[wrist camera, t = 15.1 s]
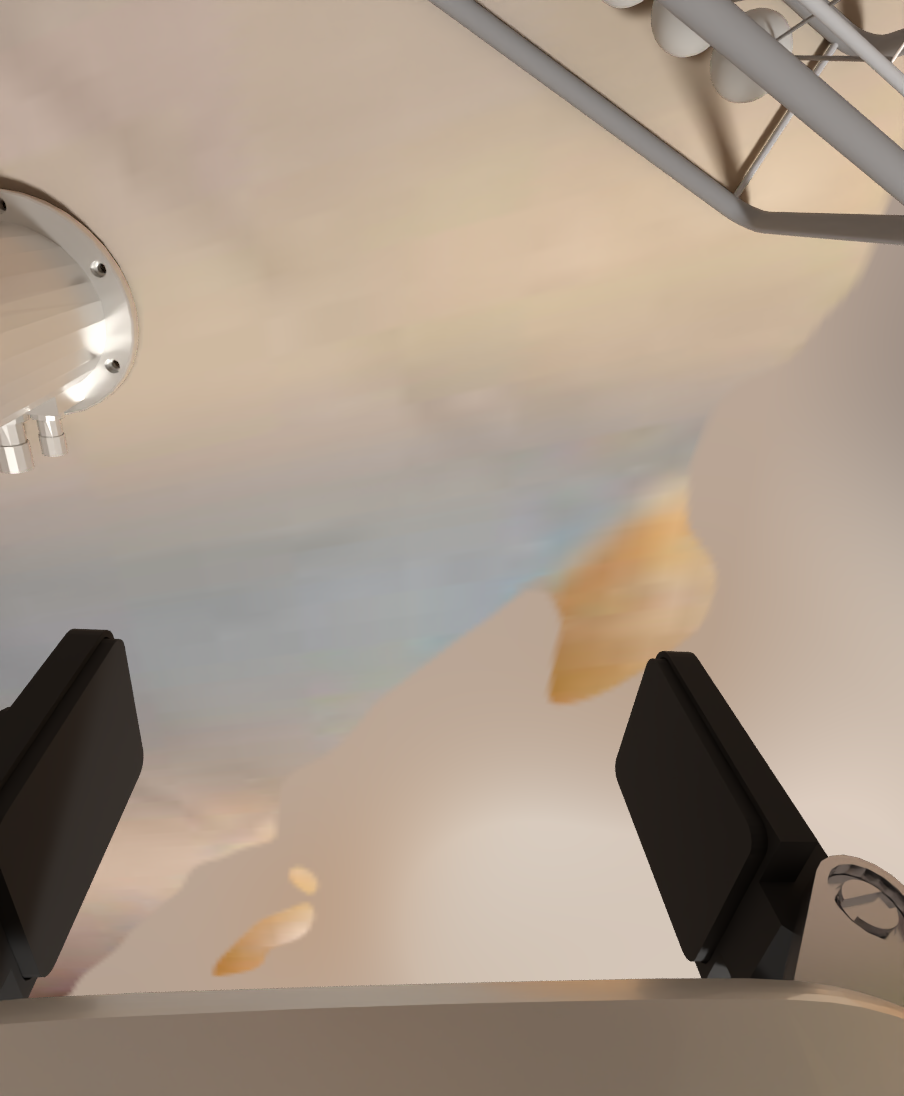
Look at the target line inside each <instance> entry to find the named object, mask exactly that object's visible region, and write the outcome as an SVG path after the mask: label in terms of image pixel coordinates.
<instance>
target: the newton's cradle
mask: <svg viewBox="0 0 904 1096" xmlns="http://www.w3.org/2000/svg"><path fill="white" fill-rule="evenodd" d="M429 1H430V2H431V3H433V4H434V5H436V6H437V7H438V8H440V9H441V10H442V11H444V12H445V13H446V14H448V15H449V16H451V17H452V18H453V19H455V20H456V21H457V22H459V23H460V24H462V25H463V26H464V27H466V28H467V29H468V30H470V31H471V32H473V33H474V34H475V35H477V36H478V37H479V38H481V39H482V40H484V41H485V42H486V43H488V44H489V45H490V46H492V47H493V48H495V49H496V50H497V51H499V52H500V53H501V54H503V55H504V56H506V57H507V58H508V59H510V60H511V61H512V62H514V63H515V64H517V65H518V66H519V67H521V68H522V69H523V70H525V71H526V72H528V73H529V74H530V75H532V76H533V77H534V78H536V79H537V80H538V81H540V82H541V83H543V84H544V85H545V86H547V87H548V88H549V89H551V90H552V91H554V92H555V93H556V94H558V95H559V96H560V97H562V98H563V99H565V100H566V101H567V102H569V103H570V104H571V105H573V106H574V107H576V108H577V109H578V110H580V111H581V112H582V113H584V114H585V115H587V116H588V117H589V118H591V119H592V120H593V121H595V122H596V123H598V124H599V125H600V126H602V127H603V128H604V129H606V130H607V131H609V132H610V133H611V134H613V135H614V136H615V137H617V138H618V139H619V140H621V141H622V142H624V143H625V144H626V145H628V146H629V147H630V148H632V149H633V150H635V151H636V152H637V153H639V154H640V155H641V156H643V157H644V158H646V159H647V160H648V161H650V162H651V163H652V164H654V165H655V166H657V167H658V168H659V169H661V170H662V171H663V172H665V173H666V174H668V175H669V176H670V177H672V178H673V179H674V180H676V181H677V182H679V183H680V184H681V185H683V186H684V187H685V188H687V189H688V190H690V191H691V192H692V193H694V194H695V195H696V196H698V197H699V198H701V199H702V200H703V201H705V202H706V203H707V204H709V205H710V206H711V207H713V208H714V209H716V210H717V211H718V212H720V213H721V214H722V215H724V216H725V217H727V218H728V219H730V220H732V221H733V222H735V223H737V224H739V225H741V226H743V227H745V228H747V229H750V230H752V231H755V232H759V233H765V234H777V235H789V236H800V237H812V238H823V239H835V240H847V241H858V242H870V243H881V244H894V245H904V215H903V216H902V215H868V214H831V213H794V212H768V211H763V210H760V209H758V208H755V207H753V206H751V205H749V204H747V203H746V202H744V201H742V200H741V199H739V197H740V195H741V194H742V192H743V191H744V189H745V188H746V186H747V185H748V183H749V181H750V180H751V178H752V177H753V175H754V174H755V172H756V171H757V169H758V168H759V166H760V165H761V163H762V162H763V160H764V159H765V157H766V156H767V154H768V153H769V151H770V149H771V148H772V146H773V145H774V143H775V142H776V140H777V139H778V137H779V136H780V134H781V133H782V131H783V130H784V128H785V127H786V125H787V124H788V122H789V121H790V119H791V118H792V116H793V114H794V115H795V116H796V117H797V118H799V119H800V120H801V121H802V122H804V123H805V124H806V125H807V126H808V127H810V128H811V129H812V130H813V131H814V132H816V133H817V134H818V135H819V136H820V137H822V138H823V139H824V140H825V141H826V142H828V143H829V144H830V145H831V146H833V147H834V148H835V149H836V150H837V151H839V152H840V153H841V154H842V155H843V156H845V157H846V158H847V159H848V160H849V161H851V162H852V163H853V164H854V165H855V166H857V167H858V168H859V169H860V170H862V171H863V172H864V173H865V174H866V175H868V176H869V177H870V178H871V179H872V180H874V181H875V182H876V183H877V184H878V185H880V186H881V187H882V188H883V189H884V190H886V191H887V192H888V193H889V194H891V195H892V196H893V197H894V198H895V199H897V200H898V201H899V202H900V203H901V204H903V205H904V150H903V149H902V148H901V147H900V146H898V145H897V144H896V143H895V142H894V141H893V140H891V139H890V138H889V137H888V136H887V135H886V134H885V133H883V132H882V131H881V130H880V129H879V128H878V127H876V126H875V125H874V124H873V123H872V122H871V121H870V120H868V119H867V118H866V117H865V116H864V115H863V114H861V113H860V112H859V111H858V110H857V109H856V108H855V107H853V106H852V105H851V104H850V103H849V102H848V101H846V100H845V99H844V98H843V97H842V96H841V95H840V94H838V93H837V92H836V91H835V90H834V89H833V88H831V87H830V86H829V85H828V84H827V83H826V82H825V81H823V80H822V79H821V78H820V77H819V75H820V73H821V72H822V70H823V69H824V67H825V66H826V64H827V63H828V61H860V62H866V63H867V64H868V65H869V66H870V67H871V68H872V69H874V70H875V71H876V72H877V73H878V74H879V75H880V76H881V77H882V78H884V79H885V80H886V81H887V82H888V83H889V84H890V85H891V86H892V87H894V88H895V89H896V90H897V91H898V92H899V93H900V94H901V95H902V96H903V97H904V74H903V73H902V72H901V71H900V70H899V69H898V68H896V67H895V66H894V65H893V64H892V63H893V62H894V60H895V59H896V57H899V56H902V55H904V29H901V30H898V31H895V32H892V33H889V34H885V35H877V34H873V33H869V32H866V31H864V30H862V29H860V28H858V27H857V26H856V25H854V24H853V23H852V22H851V21H850V20H849V19H847V18H846V17H845V16H844V15H843V14H842V13H841V12H840V11H839V10H838V9H837V8H836V7H834V6H833V5H834V4H836V3H837V2H839V1H841V0H833V1H832V2H829V1H828V0H783V1H784V2H785V3H786V4H787V5H788V6H790V7H791V8H792V9H793V10H794V11H795V12H796V13H797V14H799V15H800V16H801V17H802V18H803V19H804V20H803V21H802V22H800V23H799V24H797V25H796V26H794V27H793V28H791V29H790V26H789V24H788V22H787V20H786V19H785V18H784V17H783V16H782V15H781V14H780V13H778V12H777V11H774V10H771V9H768V8H757V9H753V10H749V11H747V12H744V11H743V10H741V9H740V8H739V7H738V6H737V5H736V4H734V2H737V1H743V0H654V1H653V5H652V12H651V25H652V31H653V34H654V37H655V40H656V41H657V43H658V44H659V46H660V47H661V48H662V49H663V50H664V51H665V52H667V53H669V54H670V55H672V56H676V57H689V56H694V55H697V54H699V53H701V52H703V51H704V50H706V49H707V48H708V47H710V46H712V47H713V48H714V49H713V52H712V55H711V60H710V75H711V80H712V83H713V86H714V88H715V89H716V91H717V92H718V93H719V95H720V96H721V97H723V98H724V99H726V100H728V101H730V102H734V103H747V102H752V101H754V100H756V99H759V98H761V97H763V96H764V95H765V94H767V93H768V94H770V95H771V96H772V97H773V98H775V99H776V100H777V101H778V102H779V103H781V104H782V105H783V106H784V107H785V108H787V109H788V111H787V113H786V114H785V116H784V117H783V119H782V120H781V122H780V123H779V125H778V126H777V128H776V129H775V131H774V132H773V134H772V136H771V137H770V139H769V140H768V142H767V143H766V145H765V146H764V148H763V149H762V151H761V152H760V154H759V155H758V157H757V159H756V160H755V162H754V163H753V165H752V166H751V168H750V169H749V171H748V172H747V174H746V175H745V177H744V178H743V180H742V182H741V183H740V185H739V186H738V188H737V189H736V191H735V192H734V194H732V193H731V192H730V191H728V190H727V189H726V188H724V187H723V186H722V185H720V184H719V183H718V182H716V181H715V180H714V179H712V178H711V177H710V176H708V175H707V174H706V173H704V172H703V171H702V170H700V169H699V168H698V167H696V166H695V165H694V164H692V163H691V162H690V161H688V160H687V159H686V158H684V157H683V156H682V155H680V154H679V153H677V152H676V151H675V150H673V149H672V148H671V147H669V146H668V145H667V144H665V143H664V142H663V141H661V140H660V139H659V138H657V137H656V136H655V135H653V134H652V133H651V132H649V131H648V130H647V129H645V128H644V127H643V126H641V125H640V124H639V123H637V122H636V121H635V120H633V119H632V118H631V117H629V116H628V115H627V114H625V113H624V112H623V111H621V110H620V109H619V108H617V107H616V106H614V105H613V104H612V103H610V102H609V101H608V100H606V99H605V98H604V97H602V96H601V95H600V94H598V93H597V92H596V91H594V90H593V89H592V88H590V87H589V86H588V85H586V84H585V83H584V82H582V81H581V80H580V79H578V78H577V77H576V76H574V75H573V74H572V73H570V72H569V71H568V70H566V69H565V68H564V67H562V66H561V65H560V64H558V63H557V62H556V61H554V60H553V59H551V58H550V57H549V56H547V55H546V54H545V53H543V52H542V51H541V50H539V49H538V48H537V47H535V46H534V45H533V44H531V43H530V42H529V41H527V40H526V39H525V38H523V37H522V36H521V35H519V34H518V33H517V32H515V31H514V30H513V29H511V28H510V27H509V26H507V25H506V24H505V23H503V22H502V21H501V20H499V19H498V18H497V17H495V16H494V15H493V14H491V13H490V12H488V11H487V10H486V9H484V8H483V7H482V6H480V5H479V4H478V3H476V2H475V1H474V0H429ZM602 1H603V2H604V3H606V4H608V5H609V6H612V7H615V8H628V7H632V6H634V5H636V4H638V3H640V2H642V1H643V0H602ZM805 23H809V24H810V25H811V26H812V27H813V28H814V29H815V30H816V31H817V32H819V33H820V34H821V35H822V36H823V37H824V38H825V39H826V40H828V41H829V42H830V43H831V45H830V47H829V48H828V50H827V51H826V53H825V54H824V56H799V55H793V54H792V49H793V38H792V32H793V31H795V30H796V29H798V28H799V27H801V26H802V25H804V24H805ZM836 49H839V50H840V51H841V52H843V53H845V54H847V55H849V56H832V55H833V54H834V52H835V51H836ZM800 60H816V61H820V62H819V63H818V65H817V66H816V68H815V70H814V71H812V70H811V69H810V68H808V67H807V66H806V65H805V64H804V63H803V62H801V61H800Z"/></svg>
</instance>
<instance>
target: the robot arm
mask: <svg viewBox="0 0 904 1096" xmlns="http://www.w3.org/2000/svg"><path fill="white" fill-rule="evenodd" d="M3 201H4V202H5V204H6V209H5V208H4V207H3V205H2V202H3ZM101 264H103V265H104V266H105V268H106V273H105V272H103V271H102V270H101V268H100V266H101ZM138 337H139V326H138V318H137V310H136V306H135V303H134V300H133V297H132V293H131V290H130V287H129V285H128V283H127V281H126V279H125V277H124V275H123V273H122V271H121V269H120V267H119V266H118V264H117V263H116V262H115V260H114V259H113V257H112V256H111V255H110V253H109V252H108V250H107V249H106V248H105V246H104V245H103V244H102V243H101V242H100V241H99V240H98V239H97V238H96V237H95V236H94V235H93V234H92V233H91V232H90V231H89V230H88V229H87V228H86V227H85V226H83V225H82V224H81V223H80V222H78V221H77V220H76V219H74V218H73V217H72V216H70V215H69V214H68V213H66V212H65V211H63V210H61V209H59V208H57V207H56V206H54V205H52V204H50V203H48V202H47V201H45V200H42V199H39V198H36V197H34V196H31V195H28V194H25V193H22V192H18V191H12V190H6V189H0V472H2V473H8V474H15V473H23V472H27V471H30V470H32V469H33V468H34V461H33V457H32V452H31V448H30V443H29V440H28V439H27V438H26V433H25V429H24V424H23V422H25V421H27V420H28V419H29V415H30V417H31V418H32V419H33V420H37V425H38V429H39V440H40V444H41V449H42V454H43V455H44V456H49V457H58V456H63V455H65V454H67V453H68V449H67V444H66V439H65V434H64V432H63V430H62V425H61V420H60V419H62V418H64V417H65V415H68V414H72V413H76V412H80V411H83V410H86V409H88V408H90V407H92V406H94V405H96V404H98V403H100V402H102V401H103V400H104V399H106V398H107V397H109V396H110V395H111V394H113V393H114V392H115V390H116V389H117V388H118V387H119V386H120V385H121V384H122V383H123V382H124V381H125V379H126V377H127V375H128V373H129V372H130V370H131V368H132V366H133V363H134V360H135V356H136V353H137V349H138ZM115 360H116V361H117V362H118V363H119V365H120V367H118V366H116V365H115V363H114V361H115ZM28 414H29V415H28ZM142 765H143V747H142V742H141V736H140V730H139V725H138V719H137V713H136V708H135V702H134V697H133V691H132V685H131V680H130V674H129V668H128V663H127V657H126V651H125V646H124V643H123V641H122V640H121V639H114V637H113V634H112V633H111V631H108V630H92V629H72V630H70V631H69V632H68V633H67V634H66V635H65V636H64V637H63V639H62V640H61V641H60V643H59V644H58V645H57V647H56V648H55V649H54V651H53V652H52V653H51V654H50V656H49V657H48V658H47V660H46V661H45V662H44V664H43V665H42V666H41V668H40V669H39V670H38V671H37V673H36V674H35V675H34V677H33V678H32V679H31V681H30V682H29V683H28V685H27V686H26V687H25V689H24V690H23V691H22V692H21V694H20V695H19V696H18V698H17V699H16V700H15V702H14V703H13V704H12V706H11V707H7V708H5V709H3V710H1V711H0V1096H904V885H903V884H901V883H900V882H899V881H898V880H897V879H896V878H895V877H893V876H892V875H891V874H889V873H888V872H886V871H884V870H883V869H881V868H880V867H878V866H877V865H875V864H872V863H870V862H868V861H865V860H863V859H860V858H857V857H852V856H847V855H835V856H829V857H828V856H827V854H826V853H825V852H824V850H823V848H822V847H821V845H820V844H819V842H818V841H817V839H816V837H815V836H814V834H813V833H812V831H811V830H810V828H809V827H808V825H807V824H806V822H805V821H804V819H803V818H802V816H801V815H800V813H799V811H798V810H797V808H796V807H795V805H794V804H793V803H792V801H791V799H790V798H789V797H788V795H787V793H786V792H785V790H784V789H783V787H782V786H781V784H780V783H779V781H778V780H777V778H776V777H775V775H774V774H773V772H772V771H771V769H770V768H769V766H768V764H767V763H766V761H765V760H764V758H763V757H762V755H761V754H760V753H759V751H758V749H757V748H756V746H755V745H754V744H753V742H752V740H751V739H750V737H749V736H748V734H747V733H746V731H745V730H744V728H743V727H742V725H741V724H740V722H739V720H738V719H737V718H736V716H735V715H734V713H733V711H732V710H731V708H730V707H729V705H728V704H727V703H726V701H725V699H724V698H723V696H722V695H721V693H720V692H719V690H718V689H717V687H716V686H715V684H714V683H713V681H712V680H711V678H710V677H709V675H708V674H707V672H706V670H705V669H704V667H703V666H702V664H701V663H700V661H699V660H698V658H697V657H696V656H695V655H694V654H693V653H691V652H674V651H662V652H659V654H658V655H657V656H656V659H653V658H652V659H650V660H649V661H648V663H647V665H646V668H645V671H644V674H643V677H642V681H641V684H640V687H639V690H638V693H637V696H636V699H635V702H634V705H633V708H632V712H631V715H630V718H629V721H628V724H627V727H626V730H625V733H624V736H623V740H622V743H621V746H620V749H619V752H618V755H617V758H616V764H615V772H616V778H617V781H618V784H619V786H620V789H621V791H622V794H623V797H624V799H625V802H626V805H627V807H628V810H629V812H630V815H631V818H632V820H633V823H634V825H635V828H636V831H637V833H638V836H639V839H640V841H641V844H642V847H643V849H644V852H645V854H646V857H647V860H648V862H649V864H650V867H651V870H652V873H653V875H654V878H655V880H656V883H657V886H658V888H659V891H660V894H661V896H662V899H663V902H664V904H665V907H666V909H667V912H668V914H669V917H670V920H671V922H672V925H673V928H674V930H675V933H676V936H677V938H678V941H679V943H680V946H681V948H682V951H683V953H684V955H685V956H686V958H687V959H688V960H689V961H695V963H696V966H697V968H698V971H699V973H700V976H701V978H699V979H615V980H571V981H570V980H569V981H524V982H523V981H522V982H481V983H444V984H408V985H370V986H339V987H338V986H336V987H335V986H334V987H302V988H270V989H239V990H209V991H179V992H149V993H126V994H125V993H124V994H106V995H86V996H65V997H45V998H28V997H29V995H30V992H31V990H32V988H33V986H34V984H35V982H36V979H37V977H46V976H47V975H48V974H49V973H50V972H51V970H52V969H53V967H54V965H55V963H56V961H57V959H58V956H59V954H60V952H61V950H62V947H63V945H64V943H65V941H66V938H67V936H68V934H69V932H70V929H71V927H72V925H73V923H74V921H75V918H76V916H77V914H78V912H79V909H80V907H81V905H82V903H83V900H84V898H85V896H86V894H87V891H88V889H89V887H90V885H91V883H92V880H93V878H94V876H95V874H96V871H97V869H98V867H99V865H100V862H101V860H102V858H103V856H104V853H105V851H106V849H107V847H108V845H109V842H110V840H111V838H112V836H113V833H114V831H115V829H116V827H117V824H118V822H119V820H120V818H121V816H122V813H123V811H124V809H125V807H126V804H127V802H128V800H129V798H130V795H131V793H132V791H133V789H134V786H135V784H136V782H137V780H138V778H139V775H140V772H141V769H142Z"/></svg>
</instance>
